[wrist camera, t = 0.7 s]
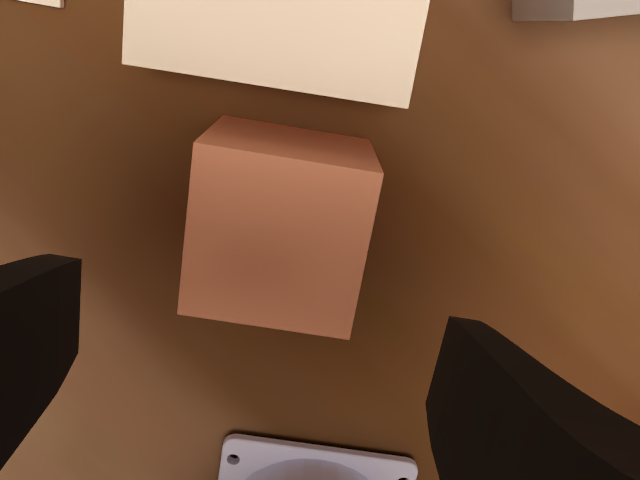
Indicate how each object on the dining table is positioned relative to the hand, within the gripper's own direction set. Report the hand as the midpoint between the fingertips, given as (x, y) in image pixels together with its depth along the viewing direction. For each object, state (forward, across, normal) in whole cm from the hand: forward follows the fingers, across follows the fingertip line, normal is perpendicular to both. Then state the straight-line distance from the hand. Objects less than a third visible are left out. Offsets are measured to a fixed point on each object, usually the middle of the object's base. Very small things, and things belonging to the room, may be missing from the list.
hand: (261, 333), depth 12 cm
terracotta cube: (+10, 0, 0) cm, 10 cm away
